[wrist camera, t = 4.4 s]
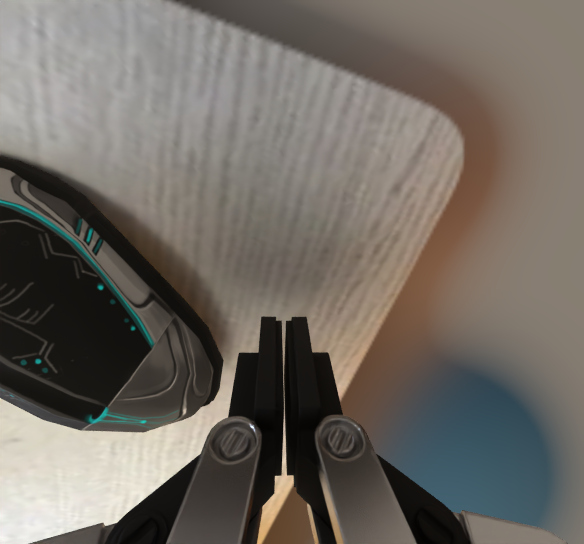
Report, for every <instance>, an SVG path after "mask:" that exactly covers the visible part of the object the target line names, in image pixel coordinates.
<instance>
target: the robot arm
mask: <svg viewBox="0 0 584 544" xmlns="http://www.w3.org/2000/svg"><path fill="white" fill-rule="evenodd" d="M284 396H285V429H286V461H287V475H294V487H296V489H297V493H298V494H299V495H300V496H301V497H302V498H303V499H304V500H305V501H306V502H307V505H308V513H309V518H310V522H311V527H312V532H313V536H314V541H315V544H568V543H567V542H565V541H564V540H563V539H561V538H559V537H558V536H557V535H555V534H554V533H552V532H550V531H547V530H545V529H542V528H538V527H534V526H529V525H525V524H521V523H517V522H512V521H508V520H503V519H499V518H495V517H490V516H486V515H482V514H477V513H473V512H468V511H464V510H462V512H461V514H459V513H455V512H451V510H449V509H448V508H447V507H446V506H445V505H444V504H443V503H442V502H440V501H439V500H437V499H436V498H435V497H434V496H432V495H431V494H429V493H428V492H427V491H426V490H424V489H423V488H421V487H420V486H419V485H417V484H416V483H415V482H413V481H412V480H411V479H409V478H408V477H407V476H405V475H404V474H403V473H402V472H400V471H399V470H398V469H396V468H395V467H394V466H392V465H391V464H390V463H388V462H387V461H385V460H384V459H383V458H381V457H380V456H379V455H377V454H376V453H375V451H374V449H373V446H372V444H371V442H370V440H369V438H368V435H367V433H366V432H365V430H364V429H363V427H362V426H361V425H360V424H359V423H357V421H355V420H354V419H352V418H350V417H347V416H344V415H343V413H342V410H341V405H340V400H339V396H338V392H337V387H336V383H335V379H334V374H333V370H332V366H331V361H330V357H329V354H328V352H325V353H312V348H311V342H310V335H309V329H308V323H307V317H292V320H291V321H286V337H285V365H284V387H283V351H282V321H276V317H261V328H260V341H259V353H239V356H238V361H237V367H236V373H235V379H234V385H233V391H232V397H231V403H230V410H229V416H228V418H225V419H224V420H222V421H220V422H218V423H217V424H216V425H215V426H214V427H213V428H212V429H211V431H210V433H209V434H208V436H207V439H206V441H205V444H204V446H203V449H202V452H201V454H200V455H198V456H197V457H196V458H195V459H194V460H192V461H191V462H190V463H189V464H187V465H186V466H185V467H184V468H182V469H181V470H180V471H179V472H177V473H176V474H175V475H174V476H173V477H171V478H170V479H169V480H168V481H166V482H165V483H164V484H163V485H161V486H160V487H159V488H158V489H156V490H155V491H154V492H153V493H152V494H150V495H149V496H148V497H147V498H145V499H144V500H143V501H142V502H140V503H139V504H138V505H137V506H135V507H134V508H133V509H132V510H131V511H129V512H128V513H127V514H126V515H125V516H124V517H123V518H122V519H121V520H120V521H119V522H118V523H115V524H112V525H108V526H105V525H104V523H100V524H96V525H93V526H89V527H86V528H82V529H79V530H75V531H72V532H68V533H65V534H61V535H58V536H54V537H51V538H47V539H44V540H40V541H37V542H33V543H30V544H257V539H258V533H259V527H260V521H261V515H262V506H263V505H264V504H265V503H266V502H267V501H268V500H269V498H270V497H271V496H272V495H273V494H274V486H275V476H281V474H282V448H283V422H284Z"/></svg>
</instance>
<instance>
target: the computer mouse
mask: <svg viewBox="0 0 584 544" xmlns="http://www.w3.org/2000/svg"><path fill="white" fill-rule="evenodd" d="M222 367H223V358H222V356H221V354H220V352H219V350H218V348H217V345H216V343H215V341H214V339H213V337H212V335H211V332H210V330H209V328H208V326H207V325H206V324H205V323H204V322H203V321H202V319H201V318H200V317H199V316H198V315H197V314H196V313H195V311H194V310H193V309H192V308H191V307H190V306H189V304H188V303H187V302H186V301H185V300H184V299H183V298H182V297H181V296H180V295H179V294H178V292H177V291H176V290H175V289H174V288H173V287H172V286H171V285H170V284H169V283H168V282H167V281H166V280H165V279H164V278H163V277H162V276H161V275H160V274H159V273H158V272H157V271H156V269H155V268H154V267H153V266H152V265H151V264H150V263H149V262H148V261H147V260H146V259H145V258H144V257H143V256H142V255H141V254H140V253H139V252H138V251H137V250H136V249H135V248H134V246H133V245H132V244H131V243H130V242H129V241H128V240H127V239H126V238H125V237H124V236H123V235H122V234H121V233H120V232H119V231H118V230H117V229H116V228H115V227H114V226H113V225H112V224H111V223H110V221H109V220H108V219H107V218H106V217H105V216H104V215H103V214H102V213H101V212H100V211H99V210H98V209H97V208H96V207H95V206H94V205H93V204H92V203H91V202H90V201H89V200H88V199H87V198H86V197H85V196H84V195H83V194H81V193H80V192H78V191H77V190H75V189H74V188H72V187H71V186H69V185H68V184H66V183H65V182H63V181H62V180H60V179H59V178H57V177H55V176H53V175H51V174H49V173H47V172H44V171H42V170H40V169H37V168H35V167H32V166H30V165H28V164H25V163H23V162H21V161H17V160H14V159H10V158H6V157H2V156H0V398H1V399H3V400H5V401H7V402H9V403H11V404H13V405H15V406H17V407H19V408H21V409H23V410H25V411H27V412H29V413H31V414H33V415H35V416H37V417H39V418H41V419H43V420H46V421H49V422H53V423H56V424H60V425H64V426H67V427H71V428H74V429H78V430H86V431H117V432H146V431H149V430H152V429H155V428H158V427H162V426H165V425H168V424H171V423H174V422H177V421H180V420H184V419H186V418H189V417H191V416H192V415H194V414H195V413H196V412H197V411H198V410H199V409H200V407H202V406H206V405H208V404H210V402H211V401H213V400H214V398H215V397H216V395H217V393H218V391H219V388H220V381H221V374H222Z"/></svg>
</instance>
